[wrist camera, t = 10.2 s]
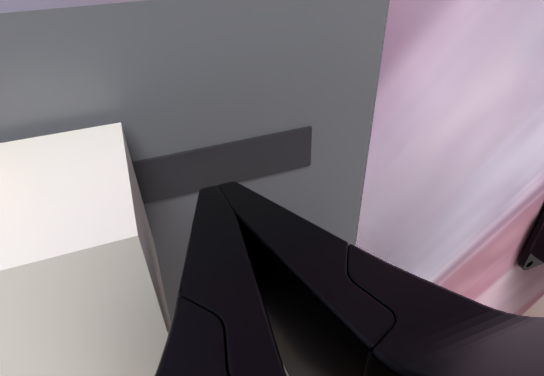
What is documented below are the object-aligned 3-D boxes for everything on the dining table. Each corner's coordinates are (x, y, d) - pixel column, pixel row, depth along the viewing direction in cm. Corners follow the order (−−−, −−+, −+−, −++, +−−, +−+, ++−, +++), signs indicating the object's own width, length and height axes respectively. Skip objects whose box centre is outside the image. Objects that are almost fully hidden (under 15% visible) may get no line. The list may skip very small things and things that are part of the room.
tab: (120, 122, 8) (137, 236, 5) (154, 246, 10) (180, 376, 7) (-45, 150, 7) (-136, 305, 4) (29, 279, 9) (2, 441, 6)
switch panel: (348, -30, 11) (394, -21, 9) (315, 384, 23) (331, 418, 22) (-365, 26, 7) (-512, 60, 5) (65, 487, 19) (63, 539, 18)
